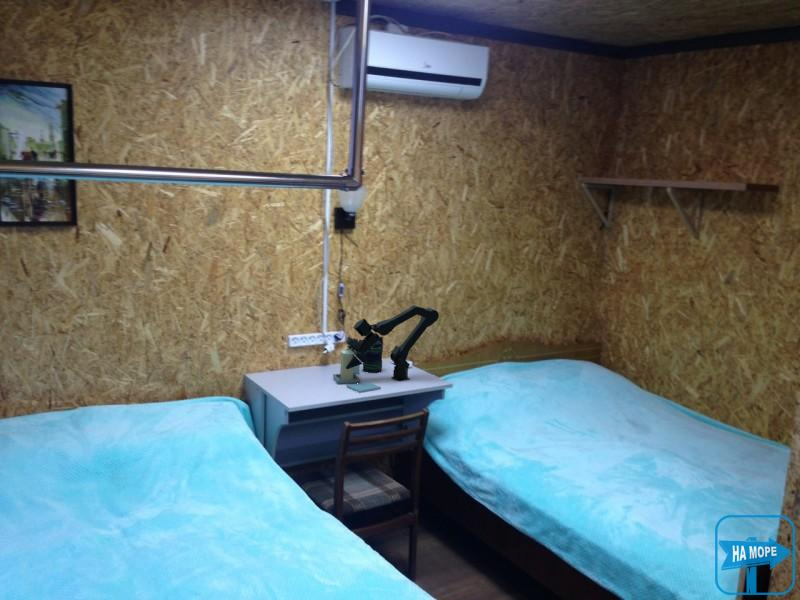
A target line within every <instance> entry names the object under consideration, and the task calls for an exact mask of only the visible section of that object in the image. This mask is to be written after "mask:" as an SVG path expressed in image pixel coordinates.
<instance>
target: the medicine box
mask: <svg viewBox="0 0 800 600" xmlns="http://www.w3.org/2000/svg"><path fill="white" fill-rule="evenodd" d="M360 367H361V366H360V365H358V366H355V367H353V374H356V375H359V374H360ZM358 373H359V374H358Z"/></svg>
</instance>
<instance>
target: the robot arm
mask: <svg viewBox="0 0 800 600" xmlns="http://www.w3.org/2000/svg"><path fill="white" fill-rule="evenodd" d="M439 315H440V314H439V312H438V311H437V310H436V309H434V308H432V307H427V308H425V307H421V306H418V305H412V306H411V307H409V308H407V309H405V310H404V311H402V312H399V313H398V314H397V315H395V316H393V317H391V318H387V319H383V320H381V321H378V322H377V323H375V324H374V323H373V324H369V322H368V320H366V318H362V319H361V320H359V321H357V322H356V323H355V324H354V325H353V329H354V330H355V331H356V332H357V333H358V335H360V337H364V338H362V339H359V340H358V339H357V338H355V337H354V338H353V337H351V336H347V338H346V341H345V344H346V345H347V346H346V350H352V352H353V353H354V355H353V358H352V360H351V361H350V362H349V364H348V365H347V366H346V369H350V368H352V367H355V366H358V365H363V364H365V363H366V362H367V358H366V357H365V354H366V353H367V352H368V351H371V348H372V347H373V346H374V345H375V344H376V343H377V342H378V341H380V342H381V343H383V344H384V339H383V338H384V337H383V336H387V335H389V334H390V333H391V332H392V331H393V330H394V329H395V328H396V327H397V326H400V325H401V324H402V323H404V322H406V321H408V320H410V319H412V318H413V317H415V316H420V320H419V322H418V324H417V325H416V326H415V328H413V330H412V331H411V332H410V333H409V335H408V337H406V339H405V340H404V341H403V343H402V344H400V345H399V346H398V345H397V344H396V345H395V346H394V347H393V349H392V350H391V351H390V352H391V353H390V355H389V357H390V360H391V361H392V362H393V364H394V366H393V373H392V375H393V376H391V379H393V380H397V381H398V382H401V381H407V380H410V377H408V376H409V375H408V374H409V373H408V372H409V368H410V363H409V361H407V358H408V355H409V353H410V350H412V348H413V347H414V345H415V344H416V343H417V341H418V340H419V339H420V338H421V336H422V335H423V334H424V333H425V331H426V330H427V329H428V328H429V327H431V326H432V325H434V324H435V323H436V322H437V321H438V320H439V317H440V316H439Z"/></svg>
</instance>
